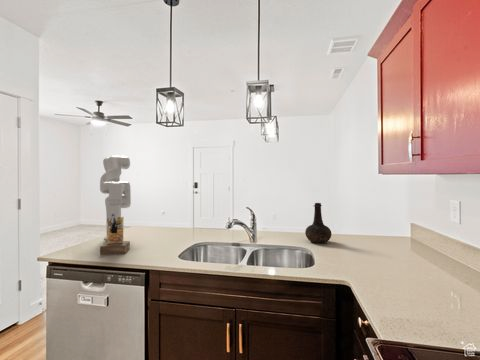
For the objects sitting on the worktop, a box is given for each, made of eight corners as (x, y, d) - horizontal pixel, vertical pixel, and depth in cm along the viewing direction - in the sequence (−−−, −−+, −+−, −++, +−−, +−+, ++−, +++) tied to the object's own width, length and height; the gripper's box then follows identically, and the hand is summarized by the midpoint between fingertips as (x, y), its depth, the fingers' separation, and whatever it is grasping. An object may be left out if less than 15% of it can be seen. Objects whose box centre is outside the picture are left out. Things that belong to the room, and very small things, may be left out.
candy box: (106, 243, 168) (106, 218, 168) (108, 241, 172) (108, 217, 172) (122, 242, 171) (122, 217, 170) (123, 241, 175) (123, 216, 174)
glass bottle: (335, 242, 200) (335, 203, 200) (324, 246, 187) (324, 204, 187) (312, 238, 212) (312, 201, 212) (300, 242, 199) (301, 203, 199)
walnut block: (106, 249, 176) (106, 241, 176) (129, 248, 178) (129, 241, 178) (99, 254, 164) (99, 246, 164) (125, 254, 166) (125, 245, 166)
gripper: (113, 201, 179) (113, 229, 179) (104, 204, 162) (104, 235, 162) (125, 201, 180) (125, 229, 180) (118, 203, 163) (118, 235, 163)
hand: (115, 231), depth 171 cm, fingers closed on candy box, 4 cm apart
